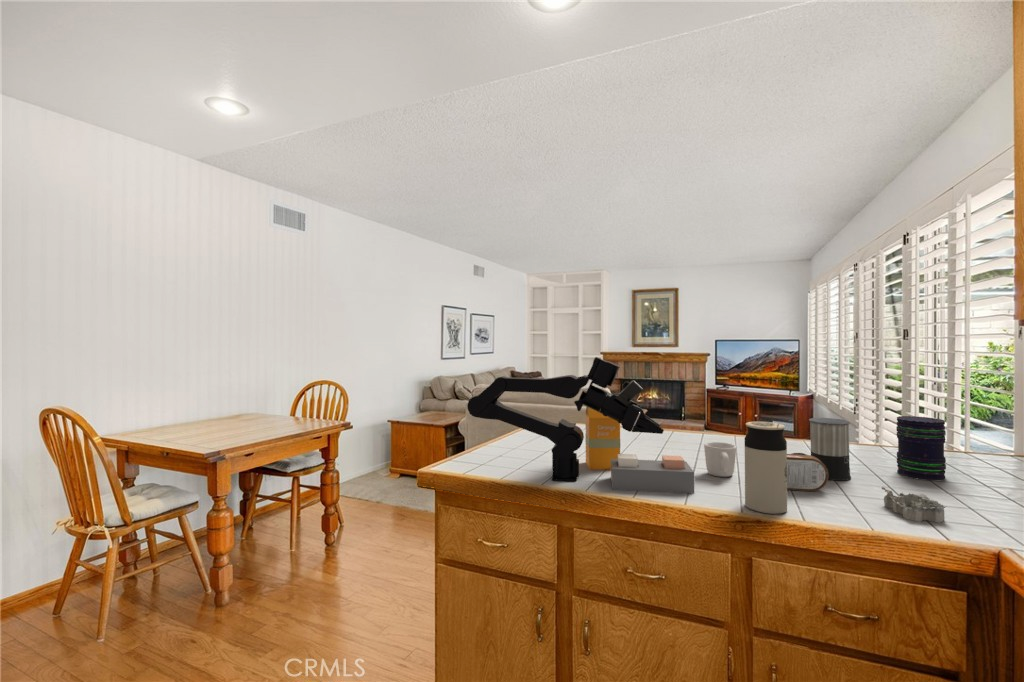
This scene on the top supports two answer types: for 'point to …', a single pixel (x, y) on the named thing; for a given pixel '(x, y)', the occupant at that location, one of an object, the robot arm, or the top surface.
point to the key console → (652, 477)
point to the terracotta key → (672, 462)
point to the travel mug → (766, 468)
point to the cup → (720, 458)
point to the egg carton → (915, 506)
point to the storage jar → (921, 447)
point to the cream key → (627, 460)
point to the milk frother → (831, 446)
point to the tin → (805, 473)
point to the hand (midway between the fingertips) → (661, 429)
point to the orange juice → (601, 439)
